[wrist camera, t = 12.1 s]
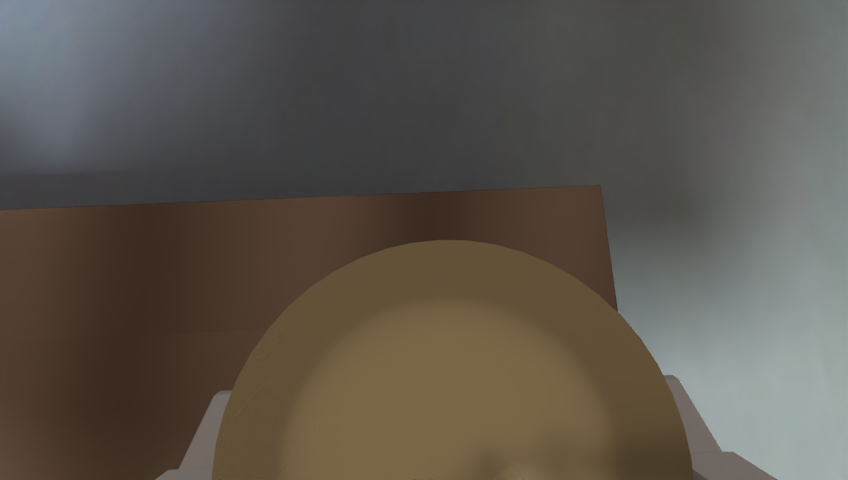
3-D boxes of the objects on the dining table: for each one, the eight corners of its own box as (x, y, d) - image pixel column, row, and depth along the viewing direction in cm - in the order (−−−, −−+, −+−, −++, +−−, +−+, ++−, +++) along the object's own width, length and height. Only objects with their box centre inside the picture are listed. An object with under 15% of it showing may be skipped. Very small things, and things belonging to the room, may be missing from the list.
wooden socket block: (574, 228, 17) (600, 185, 14) (636, 738, 13) (688, 816, 10) (-145, 257, 18) (-258, 220, 15) (-295, 761, 14) (-488, 842, 11)
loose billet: (522, 369, 15) (653, 231, 6) (537, 546, 14) (740, 754, 4) (363, 374, 15) (229, 248, 6) (363, 552, 14) (188, 767, 4)
